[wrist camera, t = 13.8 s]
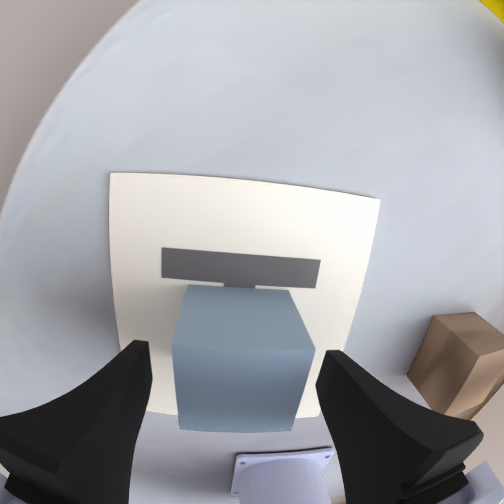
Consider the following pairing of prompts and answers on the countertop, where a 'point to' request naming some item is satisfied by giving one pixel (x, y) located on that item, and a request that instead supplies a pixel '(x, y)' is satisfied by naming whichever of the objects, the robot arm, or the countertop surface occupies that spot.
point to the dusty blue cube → (239, 360)
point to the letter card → (233, 258)
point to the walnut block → (457, 362)
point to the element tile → (495, 7)
